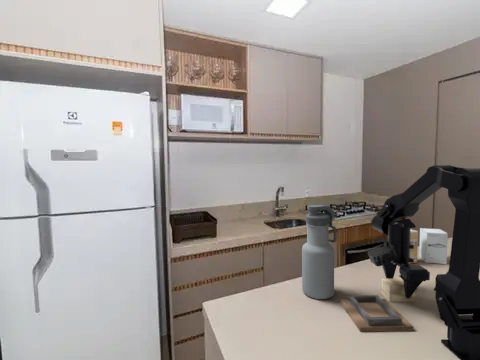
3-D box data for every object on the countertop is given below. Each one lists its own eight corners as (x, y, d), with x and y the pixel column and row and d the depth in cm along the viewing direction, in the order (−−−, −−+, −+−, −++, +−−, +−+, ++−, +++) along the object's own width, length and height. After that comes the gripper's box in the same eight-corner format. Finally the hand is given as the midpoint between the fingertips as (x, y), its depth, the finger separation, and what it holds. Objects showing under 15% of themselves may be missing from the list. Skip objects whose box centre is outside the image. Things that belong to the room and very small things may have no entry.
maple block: (405, 293, 81) (406, 278, 81) (415, 301, 77) (415, 285, 76) (381, 294, 81) (381, 278, 81) (389, 301, 77) (389, 285, 77)
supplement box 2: (425, 263, 104) (426, 232, 103) (418, 256, 111) (419, 227, 111) (447, 264, 102) (448, 233, 101) (439, 258, 109) (439, 228, 108)
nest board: (413, 330, 64) (413, 320, 63) (360, 331, 64) (360, 321, 64) (384, 302, 77) (384, 293, 76) (339, 302, 77) (339, 294, 76)
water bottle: (321, 282, 90) (320, 202, 88) (342, 295, 81) (342, 206, 79) (296, 288, 86) (295, 204, 84) (315, 303, 77) (315, 209, 75)
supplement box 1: (401, 265, 102) (402, 232, 102) (391, 261, 107) (392, 229, 106) (418, 263, 105) (418, 231, 104) (407, 258, 109) (408, 228, 108)
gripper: (357, 231, 87) (357, 277, 88) (389, 250, 69) (388, 307, 70) (391, 231, 87) (390, 276, 88) (432, 249, 68) (430, 306, 69)
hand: (398, 290), depth 79 cm, fingers open, 9 cm apart
